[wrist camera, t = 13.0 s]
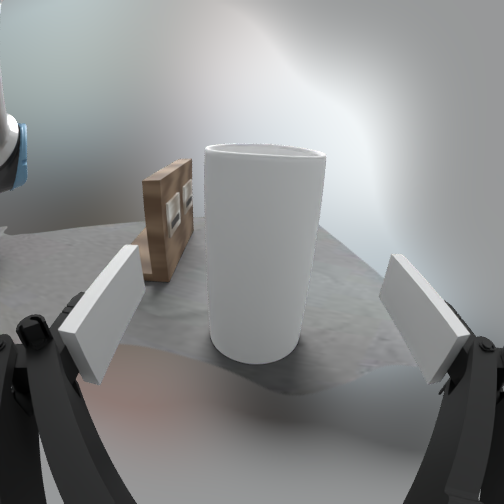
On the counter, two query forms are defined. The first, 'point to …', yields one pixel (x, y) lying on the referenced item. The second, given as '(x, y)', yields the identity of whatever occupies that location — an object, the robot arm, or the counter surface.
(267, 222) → the cup
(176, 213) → the label board
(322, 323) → the counter surface
